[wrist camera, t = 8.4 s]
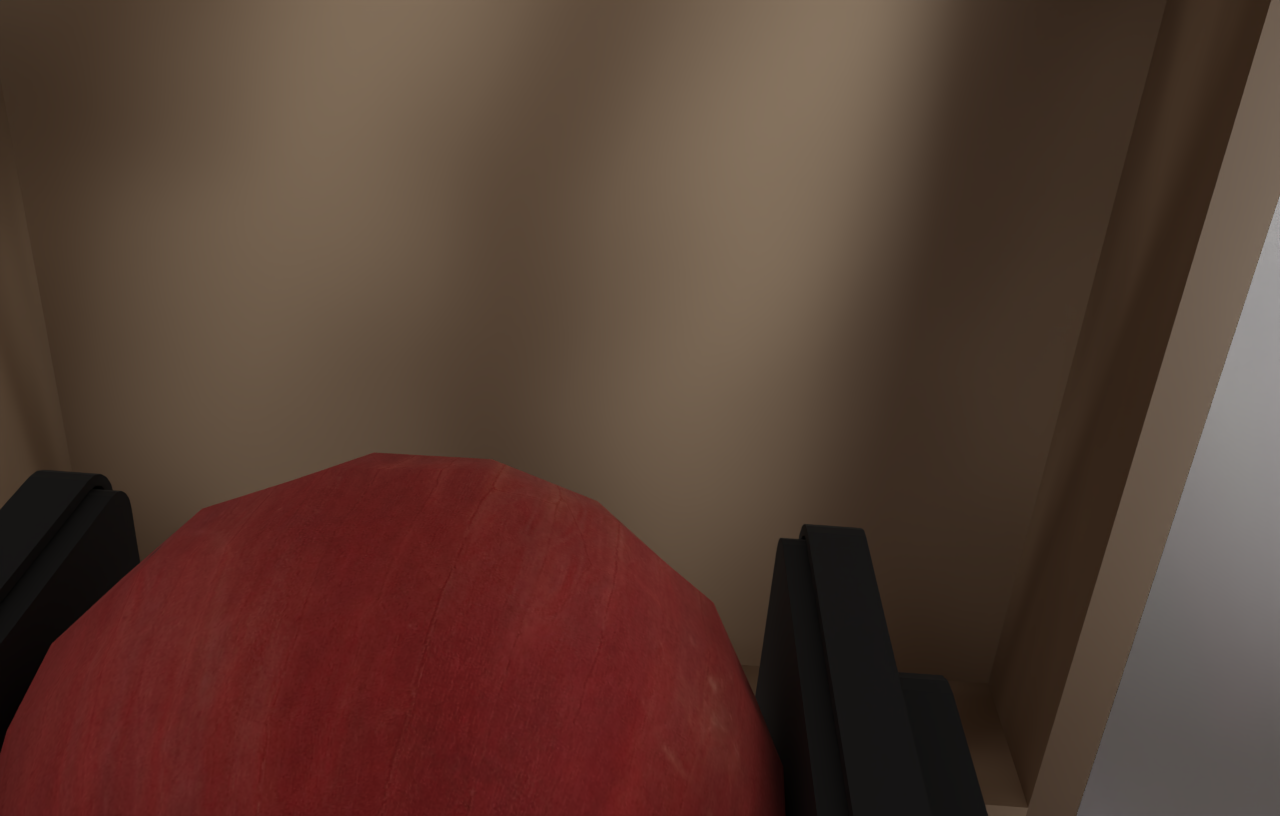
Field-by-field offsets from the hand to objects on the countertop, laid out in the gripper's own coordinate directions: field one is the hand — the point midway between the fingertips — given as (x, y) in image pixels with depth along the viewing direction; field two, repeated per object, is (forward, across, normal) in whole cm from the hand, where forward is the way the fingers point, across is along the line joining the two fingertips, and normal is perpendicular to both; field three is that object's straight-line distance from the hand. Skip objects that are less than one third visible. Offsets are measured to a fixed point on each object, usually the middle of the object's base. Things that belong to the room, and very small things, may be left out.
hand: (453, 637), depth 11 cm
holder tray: (+10, 0, 0) cm, 10 cm away
